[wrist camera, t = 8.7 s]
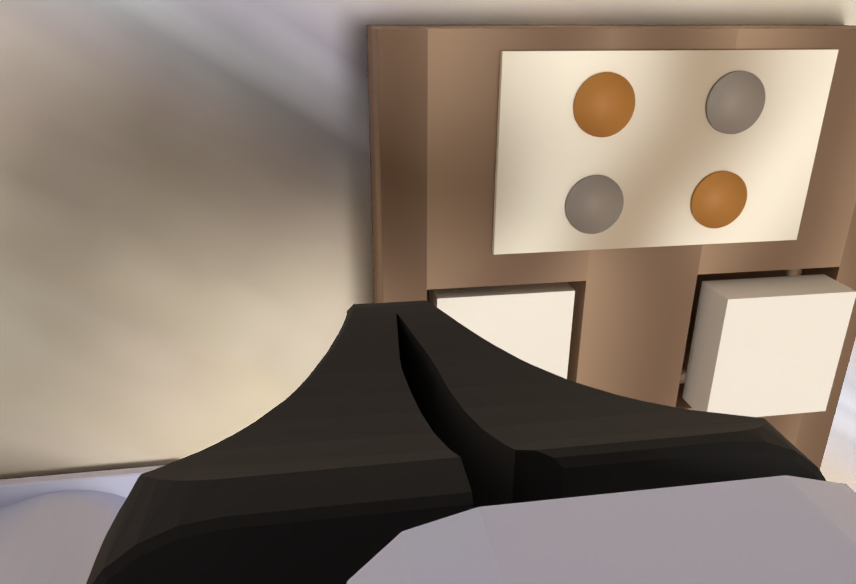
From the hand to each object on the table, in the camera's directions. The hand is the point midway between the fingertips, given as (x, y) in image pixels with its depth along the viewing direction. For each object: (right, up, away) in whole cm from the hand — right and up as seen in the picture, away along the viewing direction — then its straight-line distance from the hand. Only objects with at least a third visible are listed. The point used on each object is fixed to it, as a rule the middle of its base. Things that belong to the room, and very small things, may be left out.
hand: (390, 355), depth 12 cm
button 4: (+11, 0, +10) cm, 15 cm away
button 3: (+3, 0, +10) cm, 10 cm away
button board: (+6, -2, +13) cm, 15 cm away
